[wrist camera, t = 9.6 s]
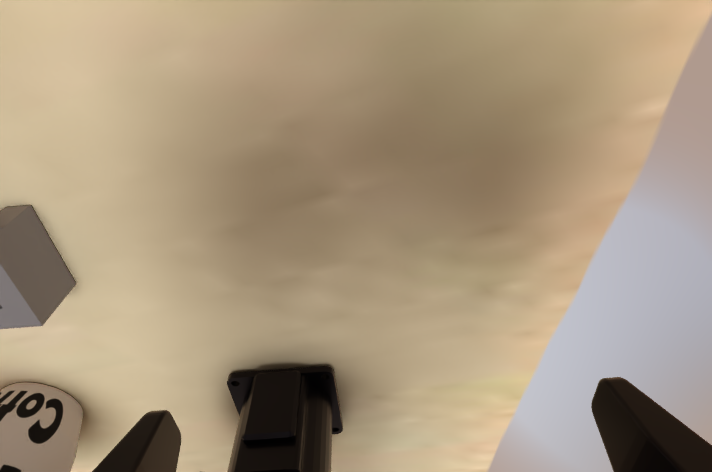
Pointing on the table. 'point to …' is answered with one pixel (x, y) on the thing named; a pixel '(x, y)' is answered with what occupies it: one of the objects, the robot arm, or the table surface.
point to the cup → (38, 428)
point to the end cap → (29, 270)
